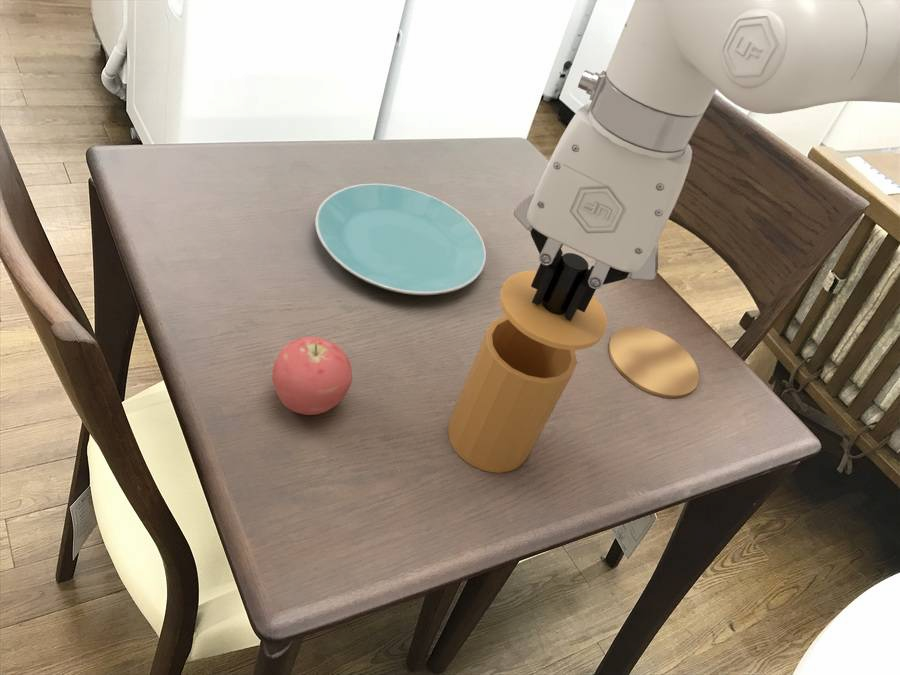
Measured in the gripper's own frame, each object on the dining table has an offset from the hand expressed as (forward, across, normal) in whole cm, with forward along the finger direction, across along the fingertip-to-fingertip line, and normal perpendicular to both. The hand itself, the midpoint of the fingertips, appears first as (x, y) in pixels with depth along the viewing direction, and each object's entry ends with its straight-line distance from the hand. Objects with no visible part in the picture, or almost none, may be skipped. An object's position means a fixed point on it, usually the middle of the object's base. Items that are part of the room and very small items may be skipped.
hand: (556, 302), depth 67 cm
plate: (+19, -22, +22) cm, 37 cm away
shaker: (+19, 0, 0) cm, 19 cm away
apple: (+19, -18, -7) cm, 27 cm away
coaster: (+19, +13, +25) cm, 34 cm away
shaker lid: (+1, 0, 0) cm, 1 cm away
